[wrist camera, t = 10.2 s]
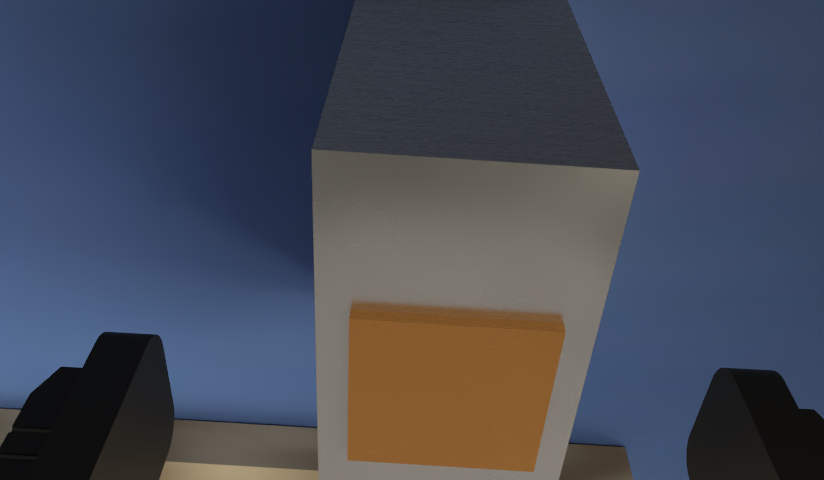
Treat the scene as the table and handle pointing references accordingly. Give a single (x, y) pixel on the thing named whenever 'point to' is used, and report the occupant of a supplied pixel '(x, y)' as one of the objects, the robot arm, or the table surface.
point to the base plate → (304, 453)
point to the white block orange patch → (461, 239)
